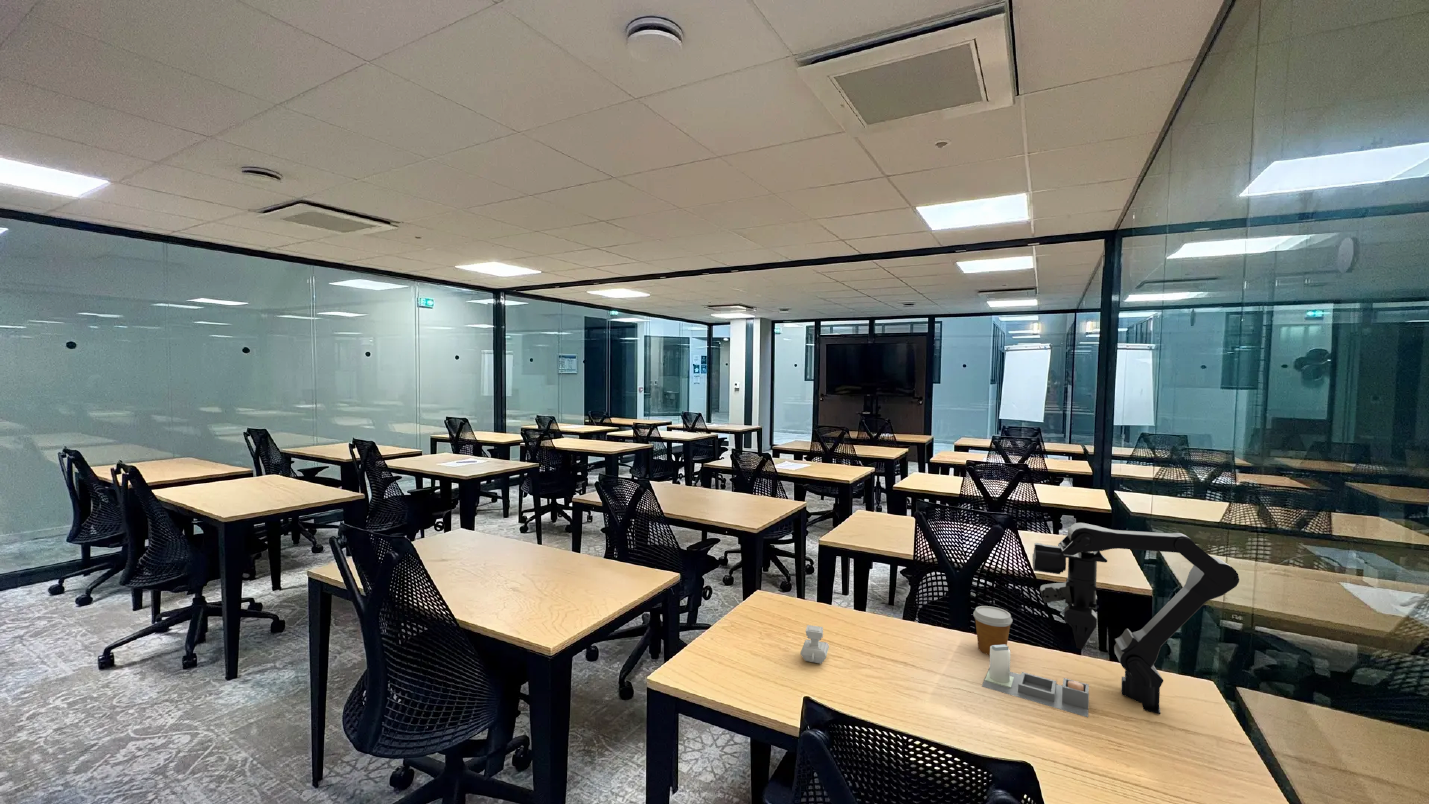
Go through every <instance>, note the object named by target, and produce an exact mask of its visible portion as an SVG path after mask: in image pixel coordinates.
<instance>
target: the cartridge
mask: <svg viewBox="0 0 1429 804" xmlns="http://www.w3.org/2000/svg"><path fill="white" fill-rule="evenodd" d="M989 667H990V673H989V677H990V678H991V679H992V680H994V681H996V682H999V683H1008V682H1009V681H1010V672H1011V650H1010V648H1009V646H1008V644H1007V645H1005V644H1003V645H992V646H990V655H989Z"/></svg>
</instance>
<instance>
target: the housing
mask: <svg viewBox="0 0 1429 804" xmlns="http://www.w3.org/2000/svg"><path fill="white" fill-rule="evenodd" d="M989 673H990V666H988V669H987V672H986V674H985V677H984V679H983V682H982V684H981V687H982V688H985V689H988V690H989V689H990V690H993V691H997V692H1000V693H1004V694H1006V695H1010V696H1013V697H1016V698H1020V699H1024V700H1027V701H1030V702H1032V703H1037V704H1040V705H1043V706H1048V707H1050V708H1055V709H1057V710H1061V711H1065V712H1067V713H1072V714H1075V715H1078V716H1081V717H1086V718H1088V717H1089V704H1090V703H1089V698H1090V697H1089V696H1090V693H1089V692H1090V690H1089V689H1090V688H1089V687H1090V686H1089V685H1090V684H1088V683H1084V682H1082V681H1077V680H1074V679H1070V678H1066V677H1063V678H1062V679H1063V680H1062V685H1061V684H1057V680H1054V679H1051V678H1047V677H1043V676H1039V675H1035V674H1031V673H1028V672H1025V671H1021V673H1017V672H1013V671H1010V681H1009V682H1008V683H999V682H996V681H994V680H992V679H991V678H990V677H989ZM1068 681H1076V682H1079V683H1081V684H1083V686H1084V690H1083V691H1080V690H1077V689H1073V688H1069V687H1068Z"/></svg>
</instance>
